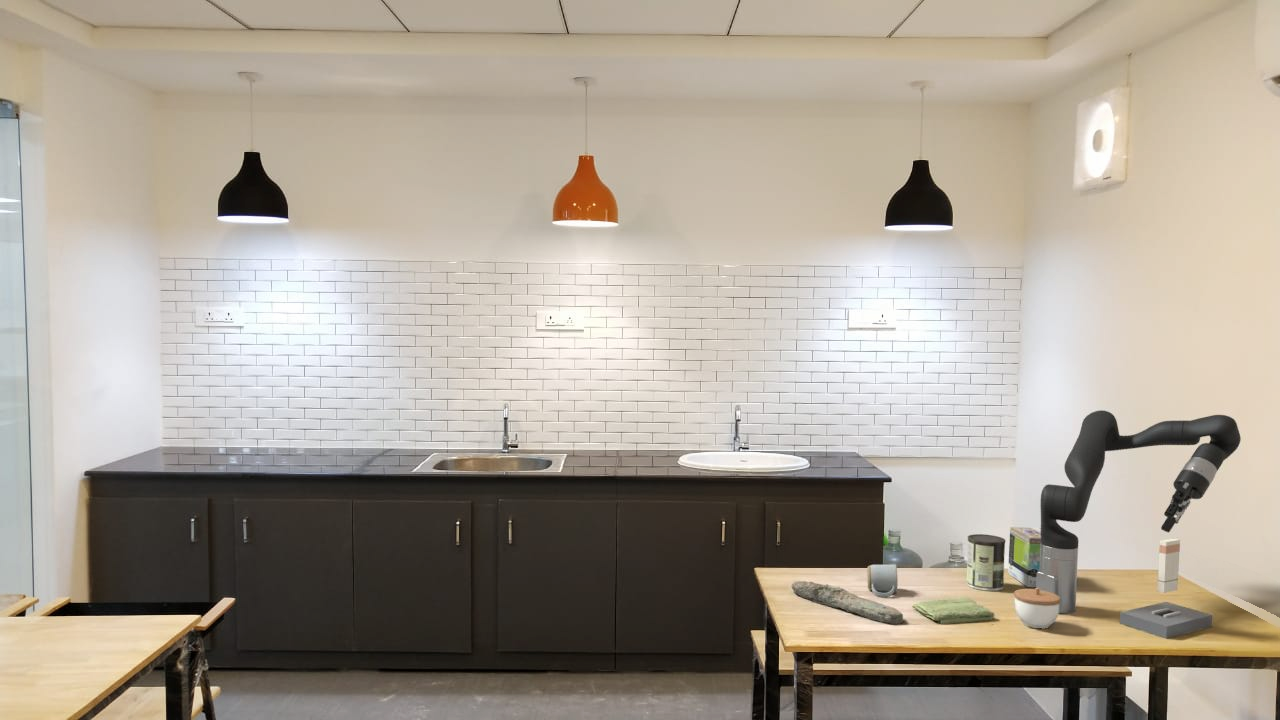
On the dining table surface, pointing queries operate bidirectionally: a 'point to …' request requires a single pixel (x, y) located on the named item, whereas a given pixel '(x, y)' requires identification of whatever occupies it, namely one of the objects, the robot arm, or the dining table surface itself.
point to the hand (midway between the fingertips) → (1166, 523)
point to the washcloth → (954, 610)
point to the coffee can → (985, 562)
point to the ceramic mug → (882, 579)
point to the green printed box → (1024, 554)
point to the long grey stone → (847, 601)
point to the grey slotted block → (1166, 619)
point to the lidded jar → (1036, 607)
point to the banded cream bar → (1168, 565)
